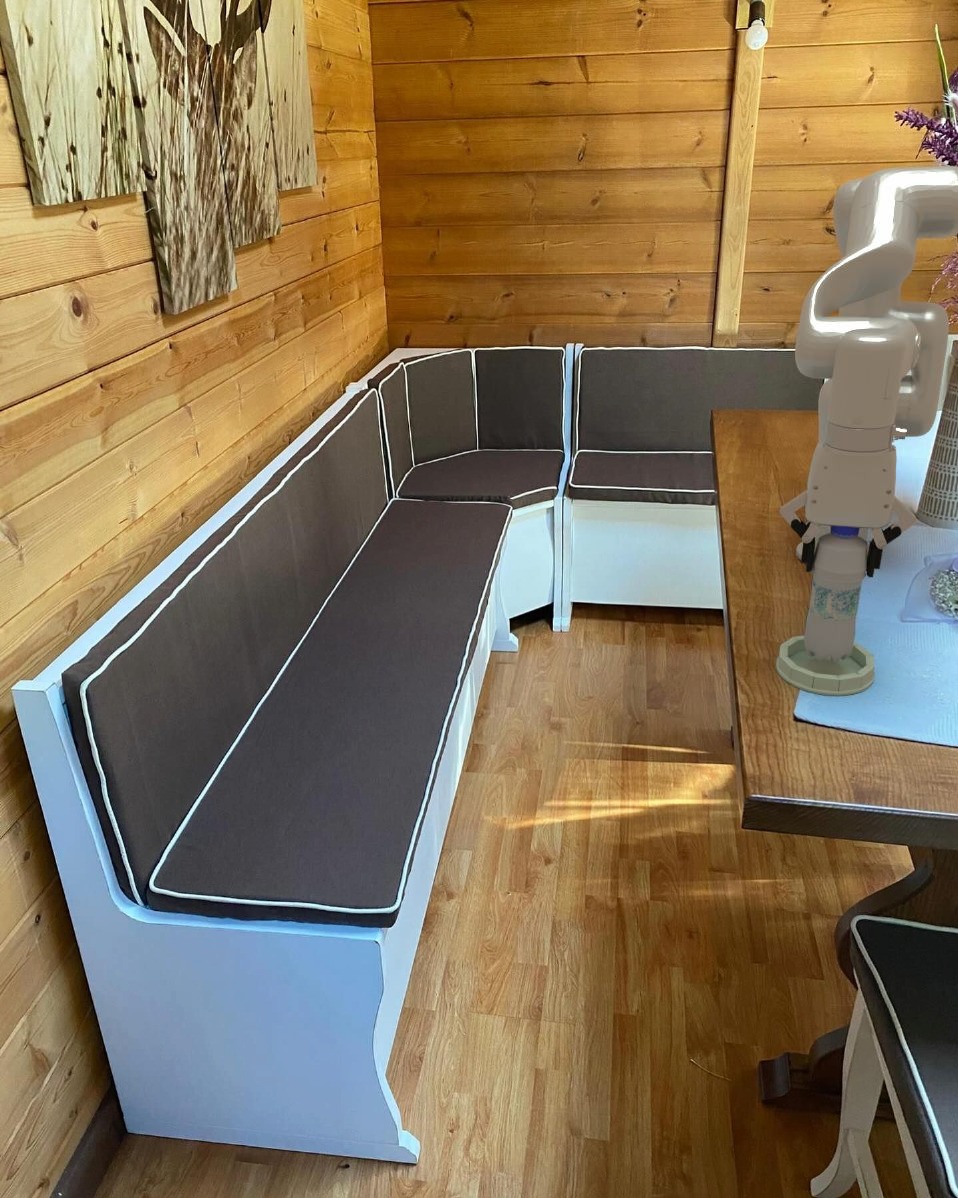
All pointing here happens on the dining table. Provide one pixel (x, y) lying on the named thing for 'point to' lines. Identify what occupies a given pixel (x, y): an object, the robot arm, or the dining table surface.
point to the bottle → (835, 593)
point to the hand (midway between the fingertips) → (838, 569)
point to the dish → (825, 670)
